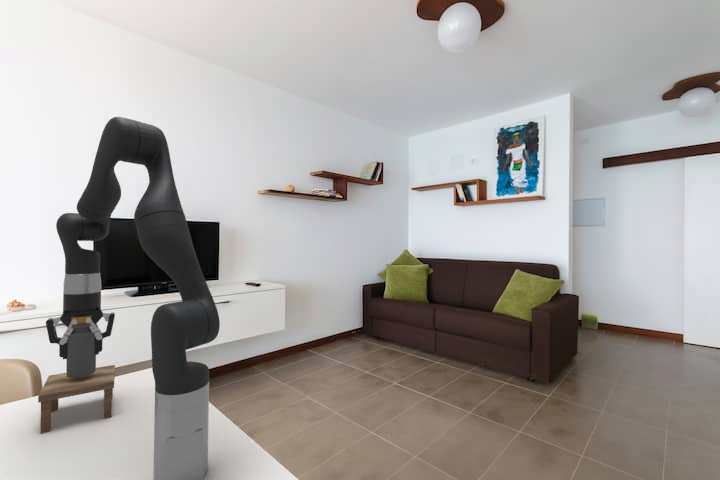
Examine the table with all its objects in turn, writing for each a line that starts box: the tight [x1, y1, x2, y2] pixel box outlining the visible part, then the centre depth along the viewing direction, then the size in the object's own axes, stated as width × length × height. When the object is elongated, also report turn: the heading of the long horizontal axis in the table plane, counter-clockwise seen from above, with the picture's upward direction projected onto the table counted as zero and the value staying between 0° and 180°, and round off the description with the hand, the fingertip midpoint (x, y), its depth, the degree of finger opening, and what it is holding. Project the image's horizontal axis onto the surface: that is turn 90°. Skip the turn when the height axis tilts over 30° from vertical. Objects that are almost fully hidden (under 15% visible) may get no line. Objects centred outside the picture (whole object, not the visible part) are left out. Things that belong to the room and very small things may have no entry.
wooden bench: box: [37, 364, 116, 434], centre depth 86 cm, size 14×14×9 cm
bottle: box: [65, 315, 97, 378], centre depth 86 cm, size 6×6×15 cm
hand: (81, 355), depth 86 cm, fingers closed on bottle, 5 cm apart
